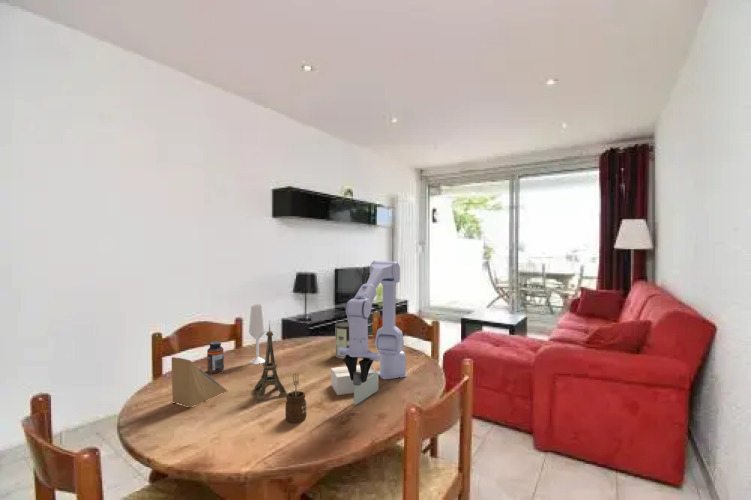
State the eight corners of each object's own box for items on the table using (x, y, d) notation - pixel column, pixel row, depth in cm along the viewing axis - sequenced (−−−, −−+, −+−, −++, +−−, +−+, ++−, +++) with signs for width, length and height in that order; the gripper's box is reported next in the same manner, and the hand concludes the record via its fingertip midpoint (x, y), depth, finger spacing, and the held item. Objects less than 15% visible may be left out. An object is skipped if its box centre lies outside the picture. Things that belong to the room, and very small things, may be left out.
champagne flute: (260, 358, 167) (260, 303, 167) (268, 361, 163) (268, 305, 162) (246, 361, 162) (245, 305, 162) (254, 365, 158) (253, 307, 157)
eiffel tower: (256, 402, 121) (255, 324, 121) (251, 390, 131) (251, 318, 130) (289, 396, 126) (288, 321, 125) (282, 385, 135) (282, 315, 135)
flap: (374, 389, 131) (374, 361, 131) (380, 390, 130) (380, 362, 130) (351, 403, 119) (351, 373, 119) (358, 405, 118) (358, 374, 118)
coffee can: (358, 352, 176) (358, 321, 176) (357, 359, 166) (357, 326, 165) (336, 352, 176) (336, 321, 176) (333, 358, 166) (333, 326, 165)
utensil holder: (285, 424, 107) (284, 381, 107) (285, 414, 113) (285, 373, 113) (306, 422, 108) (306, 380, 108) (306, 412, 114) (305, 372, 114)
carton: (368, 380, 140) (368, 363, 140) (377, 389, 131) (377, 371, 131) (331, 384, 136) (330, 367, 136) (337, 395, 127) (337, 376, 127)
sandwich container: (229, 391, 131) (229, 347, 130) (191, 409, 117) (190, 360, 117) (211, 387, 135) (211, 344, 134) (172, 404, 121) (171, 356, 120)
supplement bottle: (205, 370, 151) (205, 342, 151) (221, 367, 155) (221, 339, 155) (209, 374, 147) (209, 345, 146) (225, 371, 150) (225, 342, 150)
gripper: (332, 337, 119) (332, 380, 120) (372, 343, 112) (372, 389, 113) (344, 332, 126) (344, 373, 126) (383, 338, 119) (383, 381, 119)
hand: (358, 380), depth 120 cm, fingers open, 3 cm apart
